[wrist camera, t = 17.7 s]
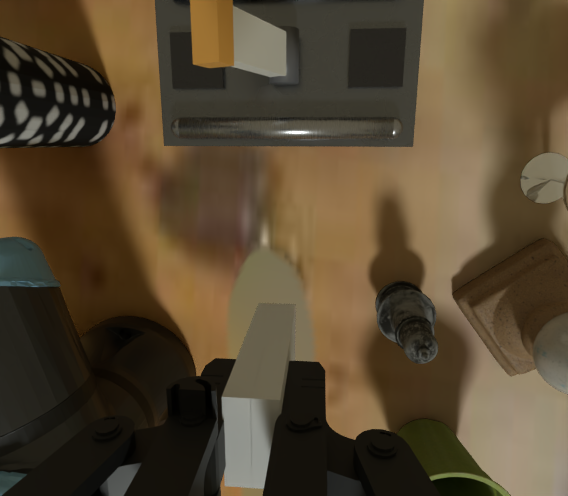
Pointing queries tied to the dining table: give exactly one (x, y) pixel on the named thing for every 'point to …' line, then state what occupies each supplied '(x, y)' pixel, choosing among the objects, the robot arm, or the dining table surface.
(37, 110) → the spotted tube
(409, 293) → the salt shaker
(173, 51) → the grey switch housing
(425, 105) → the dining table surface
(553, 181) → the wineglass
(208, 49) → the breaker lever
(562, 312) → the candle holder
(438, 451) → the plant pot
